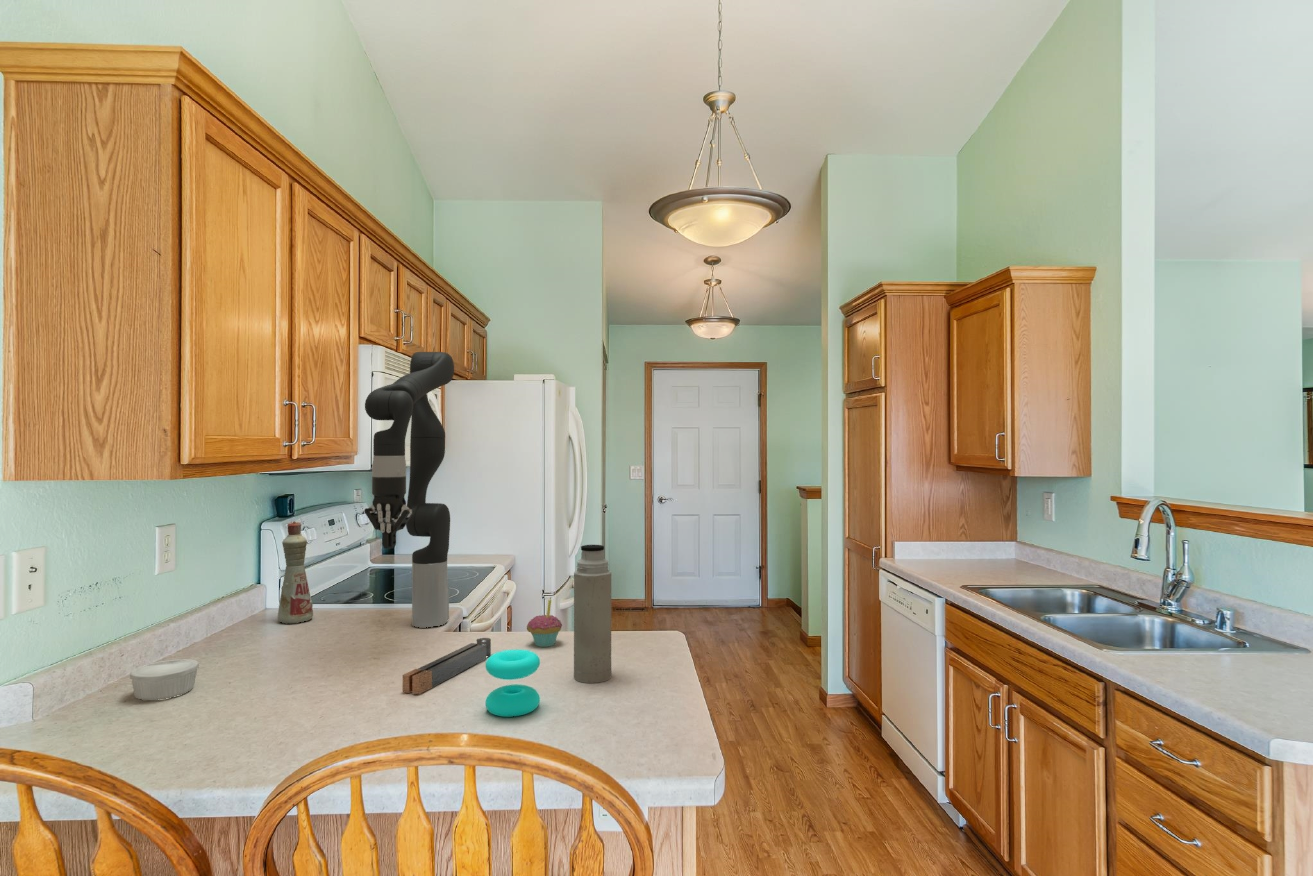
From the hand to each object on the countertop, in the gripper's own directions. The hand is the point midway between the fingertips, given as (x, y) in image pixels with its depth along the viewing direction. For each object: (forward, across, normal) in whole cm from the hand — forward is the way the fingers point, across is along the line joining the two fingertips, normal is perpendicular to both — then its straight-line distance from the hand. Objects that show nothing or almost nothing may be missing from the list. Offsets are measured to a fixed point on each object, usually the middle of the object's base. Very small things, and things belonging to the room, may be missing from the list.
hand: (389, 548), depth 163 cm
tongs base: (+25, -22, +6) cm, 34 cm away
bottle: (+25, +46, -17) cm, 55 cm away
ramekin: (+25, +25, +35) cm, 50 cm away
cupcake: (+25, -31, -19) cm, 44 cm away
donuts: (+25, -45, +20) cm, 55 cm away
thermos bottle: (+25, -52, -1) cm, 58 cm away
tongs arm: (+25, -21, +8) cm, 33 cm away
